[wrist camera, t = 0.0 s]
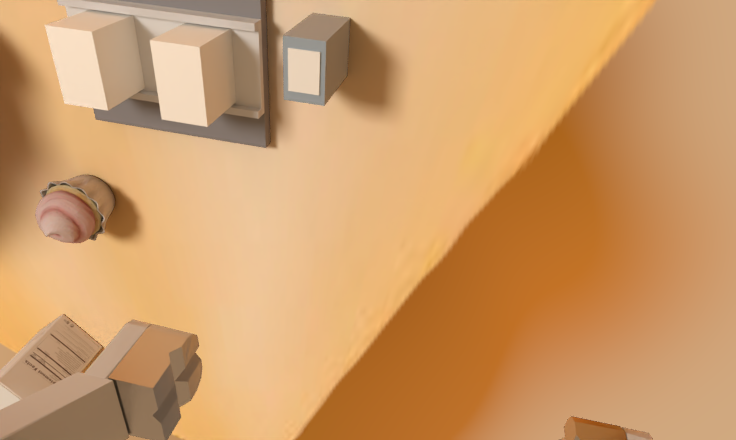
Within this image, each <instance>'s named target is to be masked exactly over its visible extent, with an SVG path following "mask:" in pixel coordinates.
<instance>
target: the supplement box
mask: <svg viewBox="0 0 736 440" xmlns="http://www.w3.org/2000/svg"><path fill="white" fill-rule="evenodd" d="M101 348H102V346H101V345H100V344H99V343H97V342H96V341H95V340H94V339H93V338H92V337H90V336H89V335H88V334H87V333H86V332H84V331H83V330H82V329H81V328H80V327H78V326H77V325H76V324H75V323H74V322H72V321H71V320H70V319H69V318H68V317H66V316H65V315H64V314H62V315H61V316H59V317H58V318H57V319H55V320H54V321H52V322H51V323H50V324H48V325H47V326H46V327H44V328H43V329H41V330H40V331H39V332H38V333H37V334H36V335H35V336H34V337H33V338H32V339H31V340H30V341H29V342H28V343H27V344H26V345H25V346H24V347H23V348H22V349H21V350H20V351H19V352H18V353H17V354H16V355H15V356H14V357H13V358H12V359H11V360H10V361H9V362H8V363H7V364H6V365H5V366H4V367H3V368H2V369H1V370H0V410H1V409H3V408H5V407H7V406H9V405H11V404H13V403H15V402H18V401H20V400H22V399H24V398H26V397H28V396H30V395H32V394H34V393H36V392H38V391H40V390H42V389H44V388H46V387H48V386H50V385H52V384H54V383H56V382H59V381H61V380H63V379H65V378H67V377H69V376H71V375H73V374H75V373H77V372H82V371H83V370H84V369H85V367H86V366H87V365H88V364H89V363H90V361H91V360H92V359H93V358H94V357H95V355H96V354H97V353H98V352H99V351H100V349H101Z"/></svg>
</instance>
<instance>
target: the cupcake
mask: <svg viewBox="0 0 736 440" xmlns="http://www.w3.org/2000/svg"><path fill="white" fill-rule="evenodd" d="M40 193H41V195H42V199H41V200H40V202H39V204H38V206H37V208H36V214H35V216H36V220H37V223H38V225H39V227H40V229H41V230H42V231H43V233H44V234H45V236H46V237H48V236H49V237H51V238H53V239H56V240H58V241H61V242H67V243H81V242H84V241H86V240H87V239H91V240H96V238H97V235H98V234H101V233H104V232H105V226H106V221H107V219H108V218H109V216H110V214H111V212H112V211H113V209H114V206H115V198H114V195H113V193H112V191H111V189H110V188H109V187H108V186H107V184H106V183H104V182H103V181H102V180H100V179H98V178H97V177H94V176H91V175H80V176H77V177H74V178H71V179H68V180H64V181H57V182H49V183H48V186H47V189H43V190H40Z"/></svg>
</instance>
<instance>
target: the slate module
mask: <svg viewBox="0 0 736 440" xmlns="http://www.w3.org/2000/svg"><path fill="white" fill-rule="evenodd" d="M349 36H350V18H348V17H340V16H332V15H325V14H317V13H312V14H311V15H309V16H308V17H307V18H305V19H304V20H303V21H301V22H300V23H299V24H297V25H296V26H295V27H293V28H292V29H291V30H289V31H288V32H287V33H285V34H284V35H283V77H284V100H290V101H296V102H303V103H309V104H316V105H323V106H325V104H326V103H327V102H328V100H329V99H330V98H331V96H332V95H333V94H334V92H335V91H336V90H337V89H338V87H339V86H340V85H341V83H342V82H343V81H344V79H345V78H346V77H347V74H348V55H349Z"/></svg>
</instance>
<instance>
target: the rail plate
mask: <svg viewBox="0 0 736 440" xmlns="http://www.w3.org/2000/svg"><path fill="white" fill-rule="evenodd" d="M57 2H58V5H62V6H65V7H66V12H67V16H68V17H67V18H64V19H61V20H58V21H55V22H52V23H49V24H47V25H45V28H46V32H47V36H48V40H49V44H50V48H51V52H52V56H53V60H54V63H55V67H56V71H57V75H58V79H59V83H60V87H61V91H62V95H63V99H64V103H65V104H70V105H77V106H83V107H89V108H93V109H94V113H95V118H96V120H102V121H108V122H114V123H120V124H126V125H132V126H138V127H144V128H150V129H156V130H162V131H168V132H174V133H180V134H186V135H192V136H198V137H204V138H210V139H216V140H222V141H228V142H234V143H240V144H246V145H252V146H258V147H264V148H266V147H267V146H268V145H269V144H270V114H269V83H268V51H267V20H266V0H57Z"/></svg>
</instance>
